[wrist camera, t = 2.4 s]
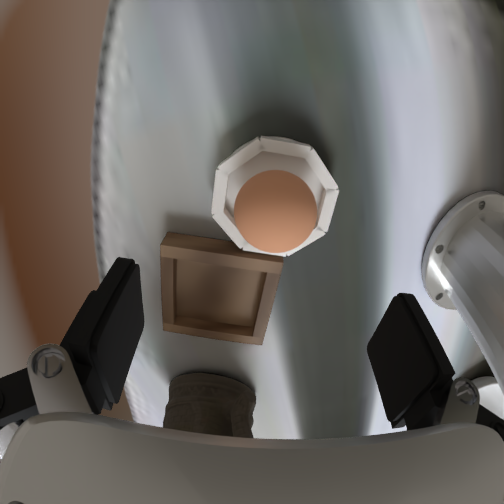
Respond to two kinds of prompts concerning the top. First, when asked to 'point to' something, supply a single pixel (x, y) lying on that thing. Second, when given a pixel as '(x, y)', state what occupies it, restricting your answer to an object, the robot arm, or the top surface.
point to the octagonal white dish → (264, 159)
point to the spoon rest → (490, 394)
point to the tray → (216, 288)
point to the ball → (275, 211)
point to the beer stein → (210, 405)
